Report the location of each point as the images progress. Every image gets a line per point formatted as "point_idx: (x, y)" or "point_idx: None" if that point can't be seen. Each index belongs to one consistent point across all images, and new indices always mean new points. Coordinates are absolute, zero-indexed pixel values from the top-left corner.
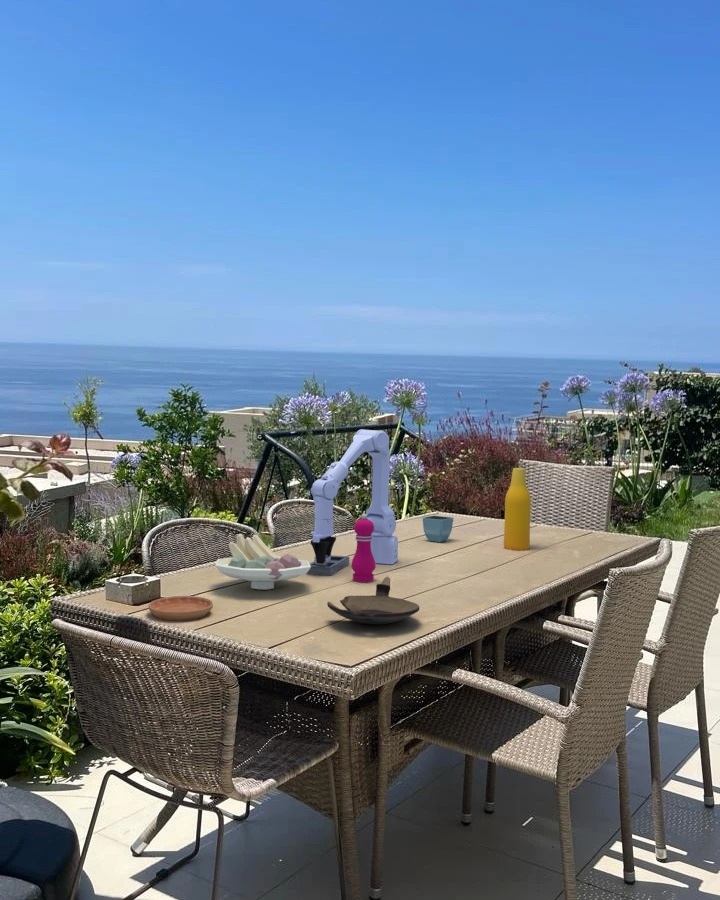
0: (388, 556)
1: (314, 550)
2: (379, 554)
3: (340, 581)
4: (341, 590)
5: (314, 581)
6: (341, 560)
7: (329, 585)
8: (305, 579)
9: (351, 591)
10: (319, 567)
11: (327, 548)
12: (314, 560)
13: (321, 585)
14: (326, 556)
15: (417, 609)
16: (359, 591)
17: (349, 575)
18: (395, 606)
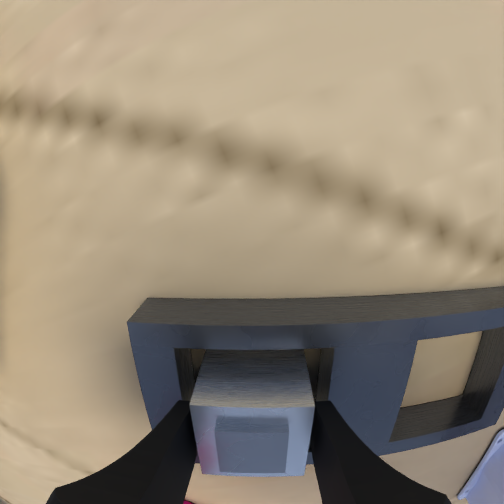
0: (479, 502)
1: (118, 462)
2: (491, 490)
3: (103, 463)
4: (17, 457)
5: (37, 379)
6: (400, 447)
7: (31, 431)
8: (40, 334)
9: (29, 476)
10: (147, 408)
11: (329, 499)
12: (195, 386)
13: (13, 408)
14: (258, 466)
15: None
16: (43, 490)
17: (228, 481)
18: None
